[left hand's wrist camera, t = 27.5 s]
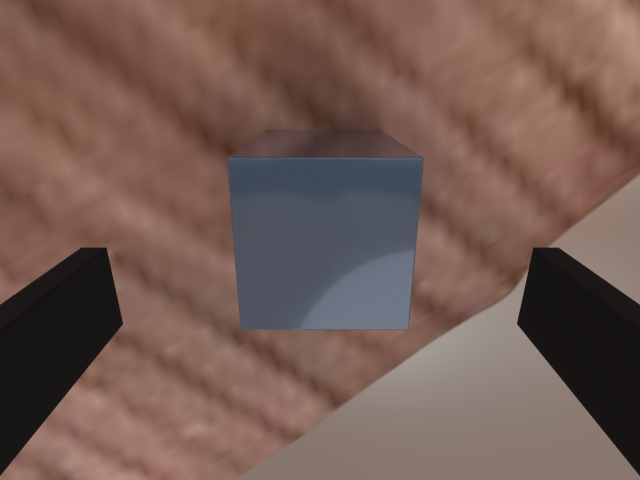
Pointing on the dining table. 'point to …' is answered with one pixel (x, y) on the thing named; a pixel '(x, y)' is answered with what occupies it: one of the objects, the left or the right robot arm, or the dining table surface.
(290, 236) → the brick
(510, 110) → the dining table surface
